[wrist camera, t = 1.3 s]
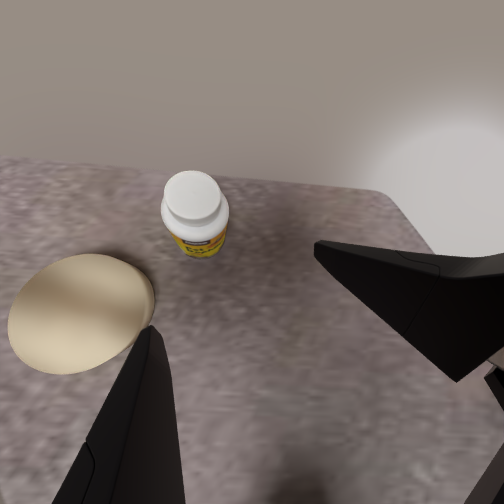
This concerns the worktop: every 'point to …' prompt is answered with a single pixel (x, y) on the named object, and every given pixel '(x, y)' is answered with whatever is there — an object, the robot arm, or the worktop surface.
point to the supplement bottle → (195, 213)
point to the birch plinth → (79, 313)
